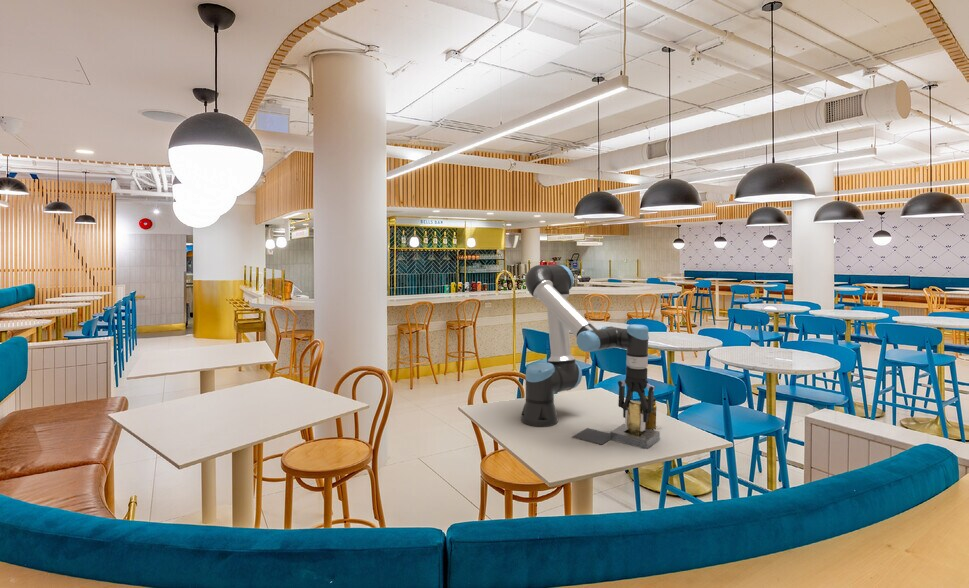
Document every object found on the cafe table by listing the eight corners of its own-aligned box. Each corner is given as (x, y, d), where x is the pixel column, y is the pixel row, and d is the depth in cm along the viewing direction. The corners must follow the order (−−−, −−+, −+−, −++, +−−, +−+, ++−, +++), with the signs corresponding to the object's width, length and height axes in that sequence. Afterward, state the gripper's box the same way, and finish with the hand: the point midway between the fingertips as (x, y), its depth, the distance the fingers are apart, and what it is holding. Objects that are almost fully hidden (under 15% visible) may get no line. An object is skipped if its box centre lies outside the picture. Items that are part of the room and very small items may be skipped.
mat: (572, 437, 187) (572, 436, 187) (587, 428, 196) (587, 427, 196) (601, 445, 179) (601, 444, 179) (616, 435, 188) (616, 434, 188)
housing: (610, 439, 185) (610, 431, 184) (623, 431, 194) (623, 423, 194) (647, 449, 176) (647, 440, 175) (659, 439, 185) (659, 431, 185)
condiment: (660, 428, 198) (661, 398, 197) (646, 432, 193) (647, 401, 192) (645, 422, 204) (646, 394, 203) (631, 426, 199) (632, 397, 198)
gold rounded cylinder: (625, 439, 184) (626, 403, 183) (630, 436, 188) (631, 399, 187) (638, 443, 181) (639, 405, 180) (644, 439, 185) (645, 402, 184)
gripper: (609, 365, 186) (607, 425, 187) (657, 372, 174) (655, 437, 176) (617, 361, 191) (616, 420, 193) (665, 368, 180) (663, 431, 182)
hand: (635, 428), depth 184 cm, fingers closed on gold rounded cylinder, 5 cm apart
